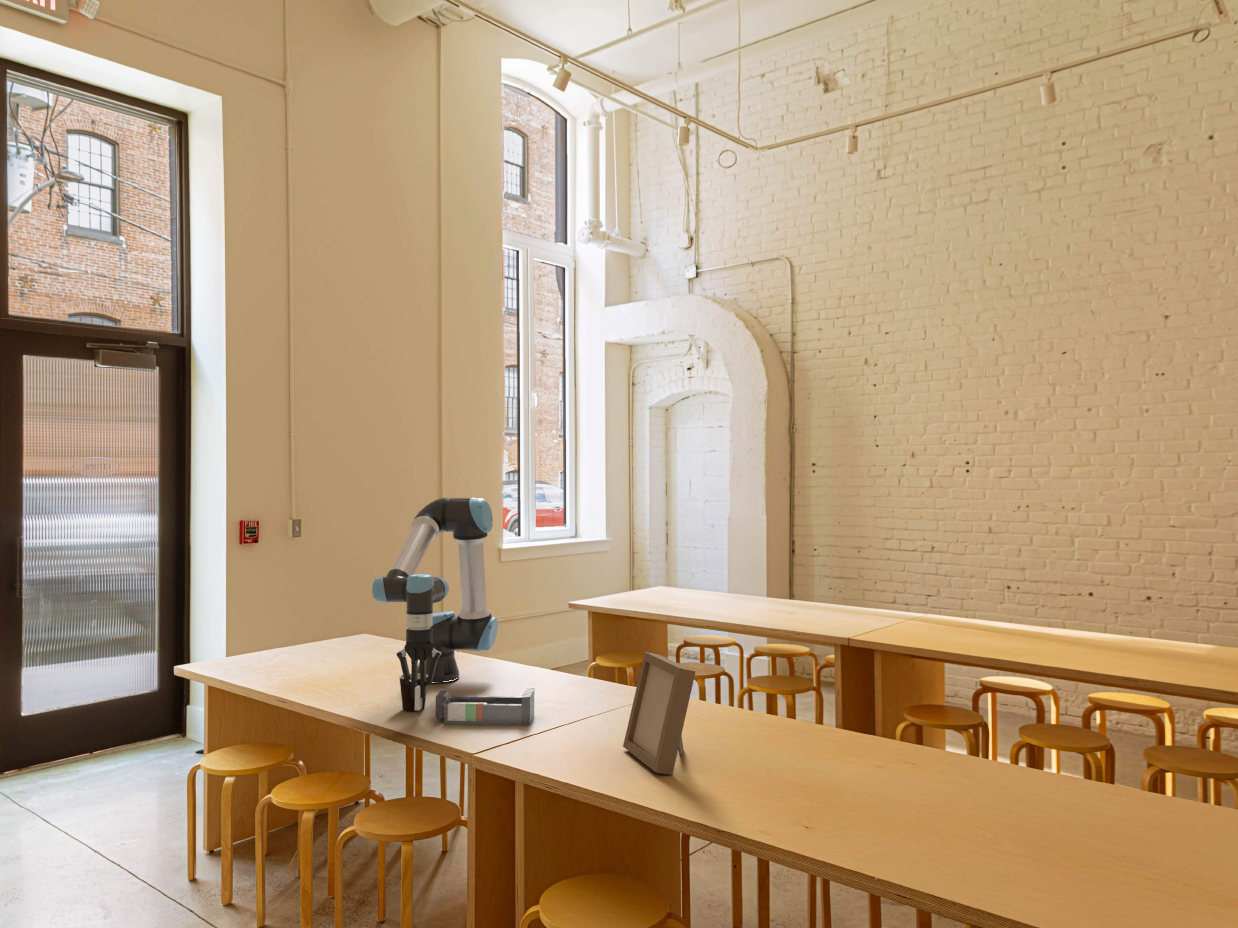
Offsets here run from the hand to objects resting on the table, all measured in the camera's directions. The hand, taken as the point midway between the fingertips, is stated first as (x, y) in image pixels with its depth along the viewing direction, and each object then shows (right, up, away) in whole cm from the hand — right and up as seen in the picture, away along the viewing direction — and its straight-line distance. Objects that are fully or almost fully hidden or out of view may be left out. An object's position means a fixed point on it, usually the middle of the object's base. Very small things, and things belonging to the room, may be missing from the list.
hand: (418, 708), depth 251 cm
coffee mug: (-3, -3, +12) cm, 13 cm away
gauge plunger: (+13, -1, -2) cm, 13 cm away
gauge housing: (+21, -3, 0) cm, 21 cm away
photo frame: (+70, -3, -36) cm, 79 cm away
